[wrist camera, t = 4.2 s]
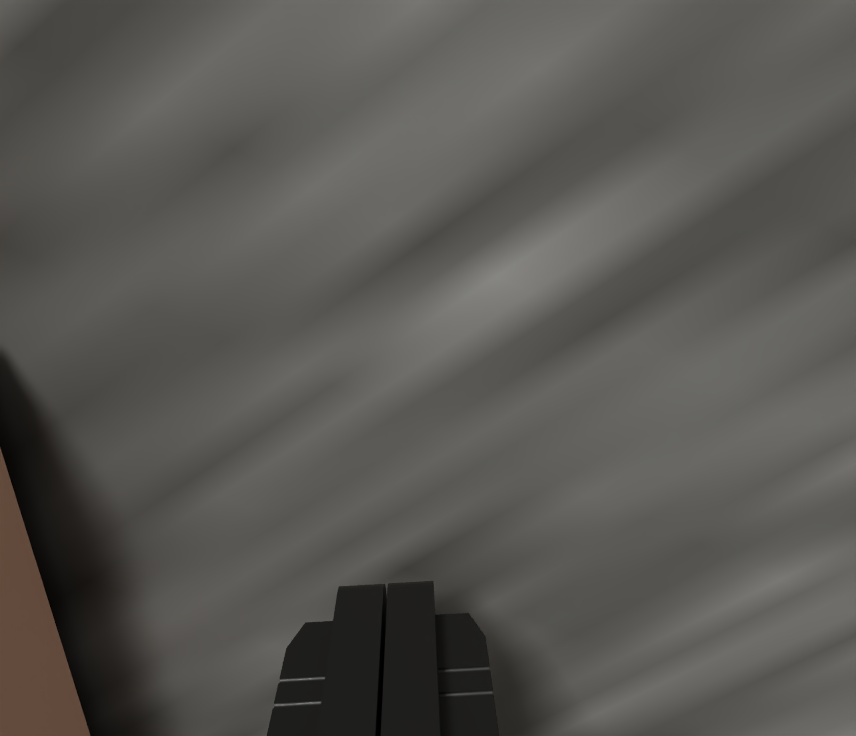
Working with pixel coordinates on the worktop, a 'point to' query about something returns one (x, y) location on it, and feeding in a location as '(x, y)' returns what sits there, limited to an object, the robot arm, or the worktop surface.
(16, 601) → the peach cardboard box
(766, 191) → the worktop surface
